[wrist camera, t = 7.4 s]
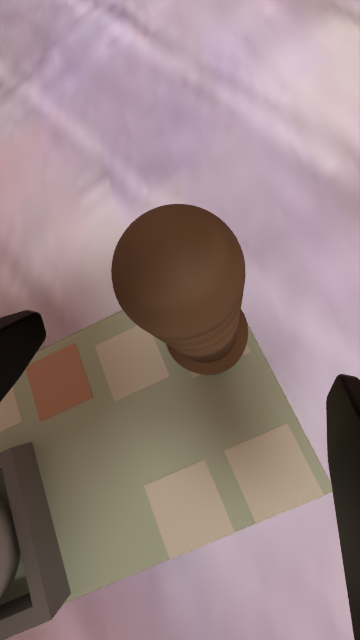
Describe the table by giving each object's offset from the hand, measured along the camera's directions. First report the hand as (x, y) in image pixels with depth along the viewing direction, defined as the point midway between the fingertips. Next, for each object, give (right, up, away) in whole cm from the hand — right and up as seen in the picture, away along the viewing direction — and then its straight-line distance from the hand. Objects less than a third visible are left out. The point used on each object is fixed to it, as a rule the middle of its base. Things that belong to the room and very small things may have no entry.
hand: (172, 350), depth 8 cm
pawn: (+2, 0, +9) cm, 9 cm away
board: (-5, -7, +9) cm, 13 cm away
